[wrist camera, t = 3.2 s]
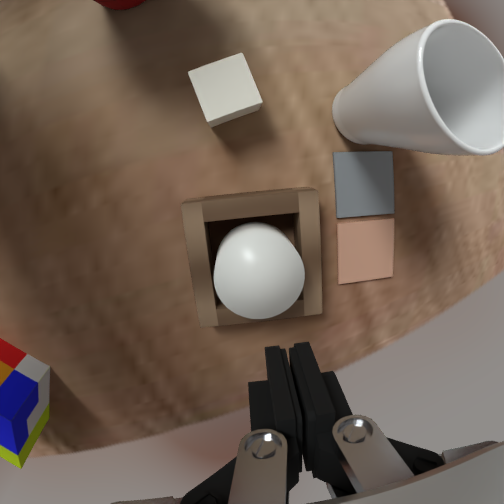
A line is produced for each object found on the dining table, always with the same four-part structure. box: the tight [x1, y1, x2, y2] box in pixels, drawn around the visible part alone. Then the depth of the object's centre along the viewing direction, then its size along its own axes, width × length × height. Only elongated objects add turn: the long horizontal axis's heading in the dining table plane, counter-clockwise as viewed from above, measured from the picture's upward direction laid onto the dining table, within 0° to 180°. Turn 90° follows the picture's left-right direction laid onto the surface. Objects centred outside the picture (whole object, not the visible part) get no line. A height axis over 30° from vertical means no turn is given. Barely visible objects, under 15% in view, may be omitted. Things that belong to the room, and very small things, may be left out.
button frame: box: [181, 187, 322, 328], centre depth 26 cm, size 10×10×3 cm
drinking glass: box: [332, 19, 504, 156], centre depth 17 cm, size 7×7×15 cm
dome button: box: [214, 222, 305, 319], centre depth 23 cm, size 6×6×4 cm
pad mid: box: [333, 151, 394, 218], centre depth 26 cm, size 6×6×1 cm
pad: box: [337, 218, 394, 284], centre depth 28 cm, size 6×6×1 cm
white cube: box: [188, 53, 262, 127], centre depth 22 cm, size 4×4×4 cm
